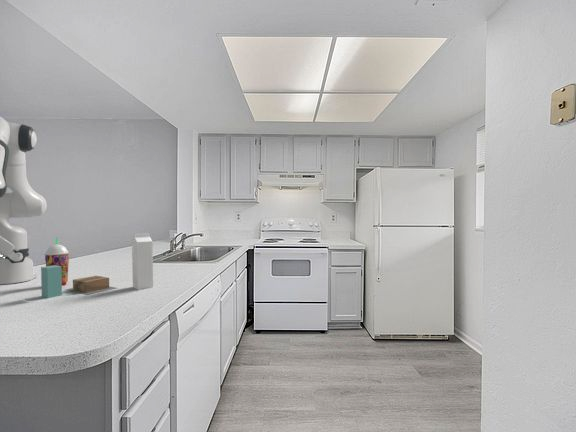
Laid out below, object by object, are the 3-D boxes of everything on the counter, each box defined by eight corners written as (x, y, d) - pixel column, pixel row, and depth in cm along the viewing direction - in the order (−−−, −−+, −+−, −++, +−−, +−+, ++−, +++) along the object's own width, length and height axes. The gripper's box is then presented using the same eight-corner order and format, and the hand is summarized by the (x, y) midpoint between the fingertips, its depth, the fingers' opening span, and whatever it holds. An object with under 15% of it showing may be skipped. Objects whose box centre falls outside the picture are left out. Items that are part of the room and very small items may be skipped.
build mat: (64, 290, 130) (64, 289, 130) (94, 284, 140) (94, 283, 140) (87, 296, 122) (87, 294, 122) (118, 289, 132) (118, 288, 132)
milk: (153, 288, 134) (152, 233, 133) (137, 290, 130) (137, 234, 129) (147, 285, 138) (147, 232, 138) (132, 287, 134) (131, 233, 134)
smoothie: (49, 289, 132) (48, 239, 132) (42, 286, 137) (41, 237, 137) (73, 285, 139) (72, 237, 138) (65, 282, 144) (64, 236, 143)
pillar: (41, 297, 120) (41, 267, 120) (55, 294, 124) (54, 265, 124) (48, 299, 118) (47, 268, 118) (61, 296, 122) (61, 266, 121)
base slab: (73, 289, 129) (72, 279, 129) (96, 285, 137) (96, 275, 137) (86, 292, 125) (85, 282, 125) (109, 287, 133) (109, 277, 133)
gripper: (-6, 223, 98) (33, 253, 107) (-33, 222, 108) (5, 249, 117) (-26, 240, 94) (17, 269, 103) (-51, 237, 105) (-11, 263, 113)
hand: (10, 258), depth 110 cm, fingers open, 8 cm apart
